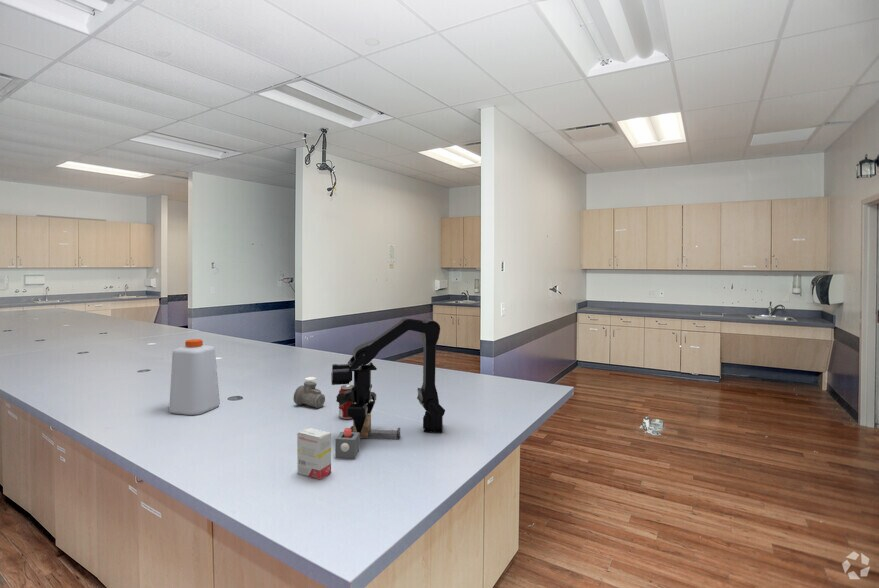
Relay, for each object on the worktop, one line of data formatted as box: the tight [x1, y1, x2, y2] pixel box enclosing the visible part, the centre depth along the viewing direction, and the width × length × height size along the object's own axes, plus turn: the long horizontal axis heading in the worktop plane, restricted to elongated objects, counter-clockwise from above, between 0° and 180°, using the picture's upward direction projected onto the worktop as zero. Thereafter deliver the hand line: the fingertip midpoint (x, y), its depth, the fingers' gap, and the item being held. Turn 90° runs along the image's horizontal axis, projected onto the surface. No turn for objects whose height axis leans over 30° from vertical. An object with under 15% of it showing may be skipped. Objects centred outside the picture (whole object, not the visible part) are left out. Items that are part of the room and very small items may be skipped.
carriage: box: [352, 413, 372, 439], centre depth 153 cm, size 5×5×7 cm
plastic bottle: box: [168, 338, 221, 416], centre depth 179 cm, size 15×15×28 cm
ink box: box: [296, 427, 332, 480], centre depth 125 cm, size 9×5×12 cm, turn 63°
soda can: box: [338, 384, 356, 420], centre depth 172 cm, size 7×7×12 cm
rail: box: [350, 425, 401, 441], centre depth 153 cm, size 17×3×3 cm, turn 87°
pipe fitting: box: [293, 380, 326, 409], centre depth 186 cm, size 12×8×10 cm
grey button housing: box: [334, 431, 361, 460], centre depth 138 cm, size 6×6×6 cm
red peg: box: [343, 427, 351, 438], centre depth 138 cm, size 2×2×4 cm
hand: (362, 427), depth 153 cm, fingers open, 9 cm apart
